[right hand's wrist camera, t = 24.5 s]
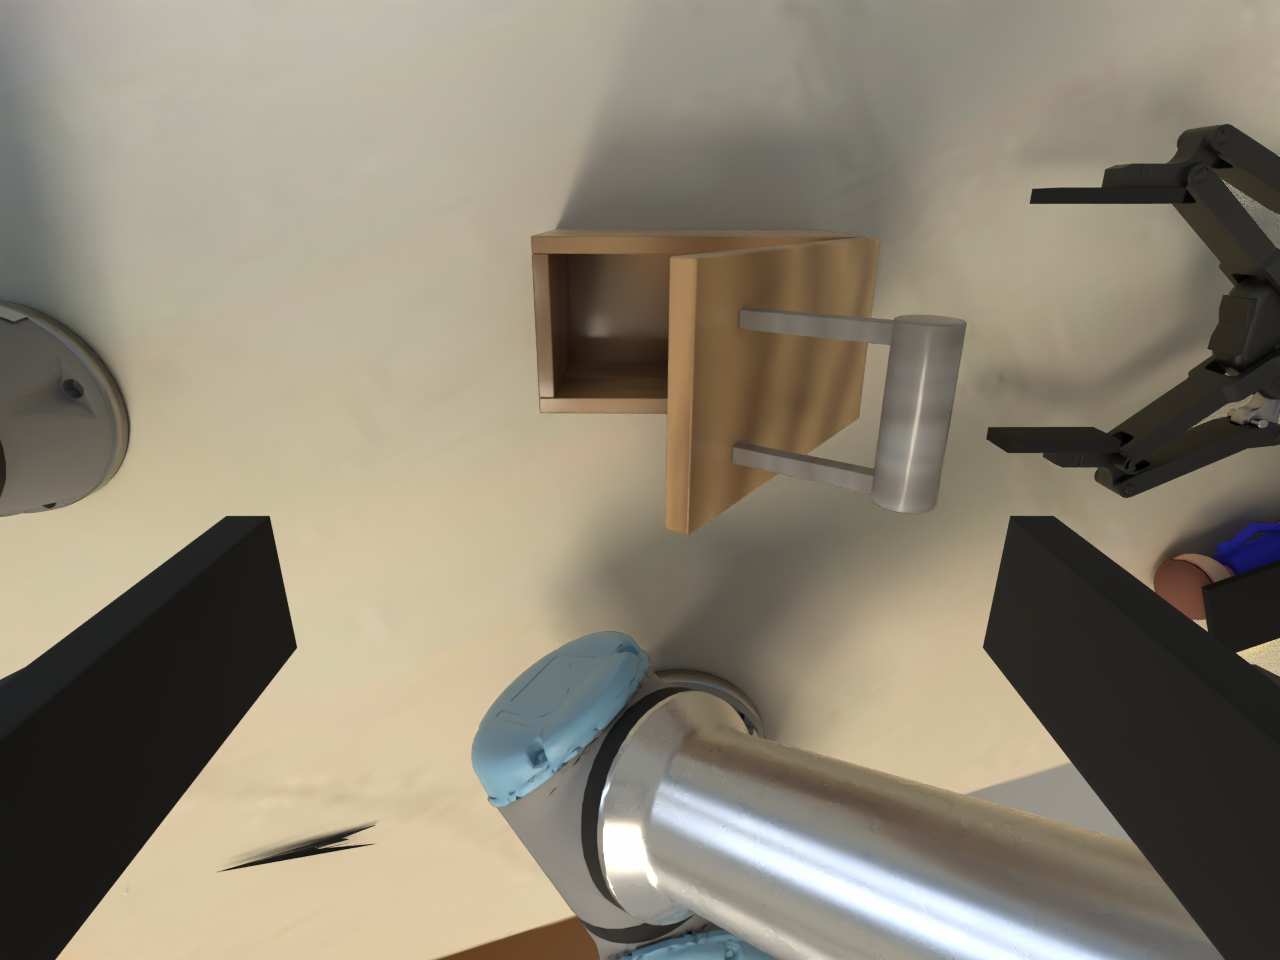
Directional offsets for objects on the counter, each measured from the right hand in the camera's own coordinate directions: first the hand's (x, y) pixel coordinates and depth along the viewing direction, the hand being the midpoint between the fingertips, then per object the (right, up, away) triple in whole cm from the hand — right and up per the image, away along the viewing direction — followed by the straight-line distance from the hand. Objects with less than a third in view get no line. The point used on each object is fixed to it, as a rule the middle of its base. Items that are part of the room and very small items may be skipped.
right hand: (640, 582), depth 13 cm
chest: (+3, +14, +36) cm, 39 cm away
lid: (+6, +7, +18) cm, 21 cm away
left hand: (+22, +11, +27) cm, 36 cm away
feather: (-37, -35, +55) cm, 75 cm away
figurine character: (+47, -3, +43) cm, 64 cm away
